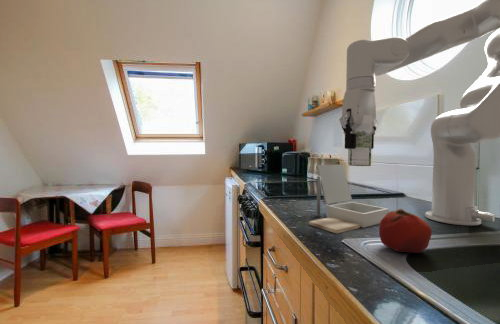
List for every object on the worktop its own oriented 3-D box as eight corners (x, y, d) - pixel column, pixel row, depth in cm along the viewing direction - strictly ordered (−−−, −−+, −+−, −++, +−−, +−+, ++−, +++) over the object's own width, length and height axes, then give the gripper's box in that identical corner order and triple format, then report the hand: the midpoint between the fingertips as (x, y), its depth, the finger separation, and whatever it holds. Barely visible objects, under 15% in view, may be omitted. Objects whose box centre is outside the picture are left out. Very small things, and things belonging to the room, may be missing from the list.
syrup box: (368, 165, 74) (369, 116, 74) (371, 166, 69) (372, 113, 68) (347, 165, 76) (348, 117, 76) (349, 166, 70) (349, 114, 70)
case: (388, 221, 71) (390, 179, 71) (359, 228, 64) (360, 181, 63) (344, 210, 84) (345, 174, 83) (315, 216, 76) (316, 176, 76)
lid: (342, 164, 84) (340, 165, 85) (318, 165, 77) (315, 165, 78) (351, 200, 81) (349, 200, 82) (326, 203, 75) (324, 204, 75)
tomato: (413, 242, 54) (414, 205, 54) (443, 261, 45) (444, 217, 45) (369, 241, 55) (370, 205, 55) (389, 259, 46) (391, 215, 45)
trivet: (359, 227, 65) (359, 224, 65) (336, 233, 60) (336, 230, 60) (331, 219, 72) (331, 216, 72) (309, 224, 67) (309, 221, 67)
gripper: (366, 93, 79) (365, 149, 80) (329, 85, 70) (328, 148, 71) (390, 88, 73) (388, 148, 74) (353, 79, 64) (352, 148, 64)
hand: (359, 148), depth 72 cm, fingers closed on syrup box, 7 cm apart
